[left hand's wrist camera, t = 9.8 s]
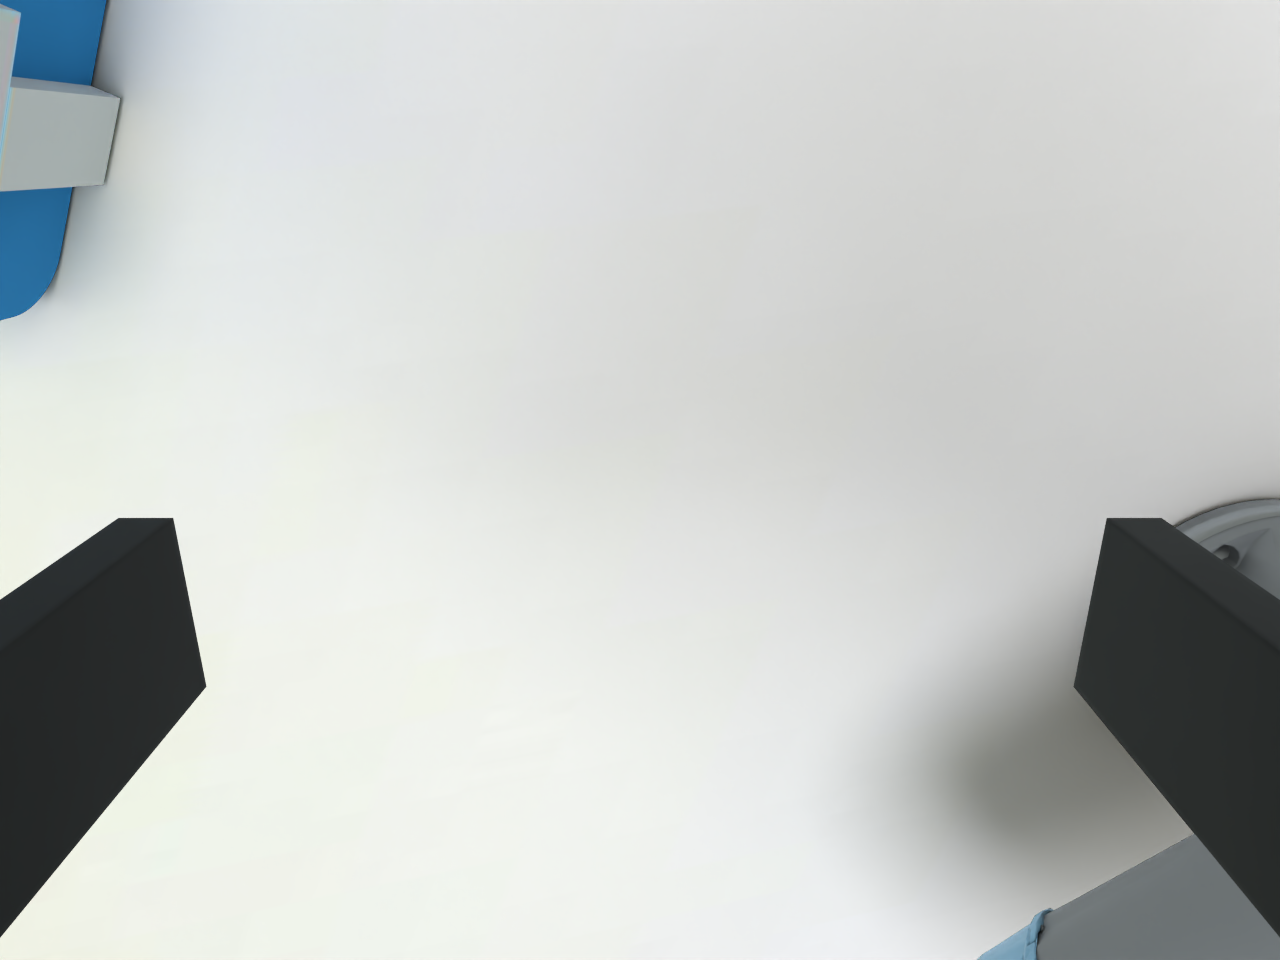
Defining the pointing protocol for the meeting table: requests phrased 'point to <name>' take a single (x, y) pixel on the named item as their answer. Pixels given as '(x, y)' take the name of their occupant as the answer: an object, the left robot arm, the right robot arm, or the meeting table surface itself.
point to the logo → (46, 135)
